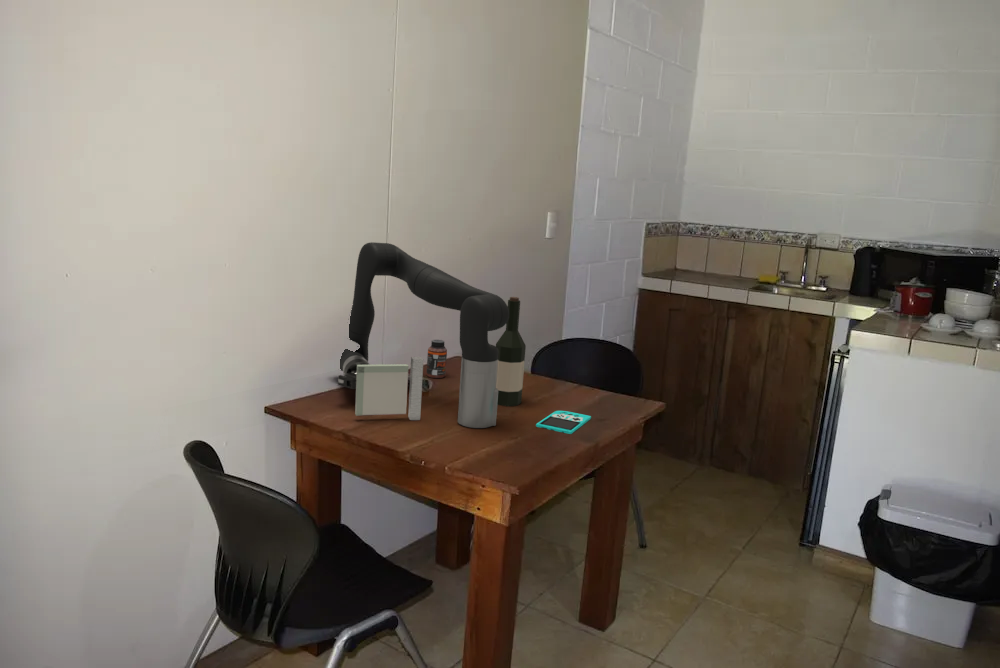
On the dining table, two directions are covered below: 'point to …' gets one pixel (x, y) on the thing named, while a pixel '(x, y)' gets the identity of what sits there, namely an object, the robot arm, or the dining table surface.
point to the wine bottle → (511, 359)
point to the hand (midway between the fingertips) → (366, 389)
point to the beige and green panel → (381, 389)
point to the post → (415, 388)
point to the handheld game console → (563, 421)
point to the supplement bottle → (436, 359)
